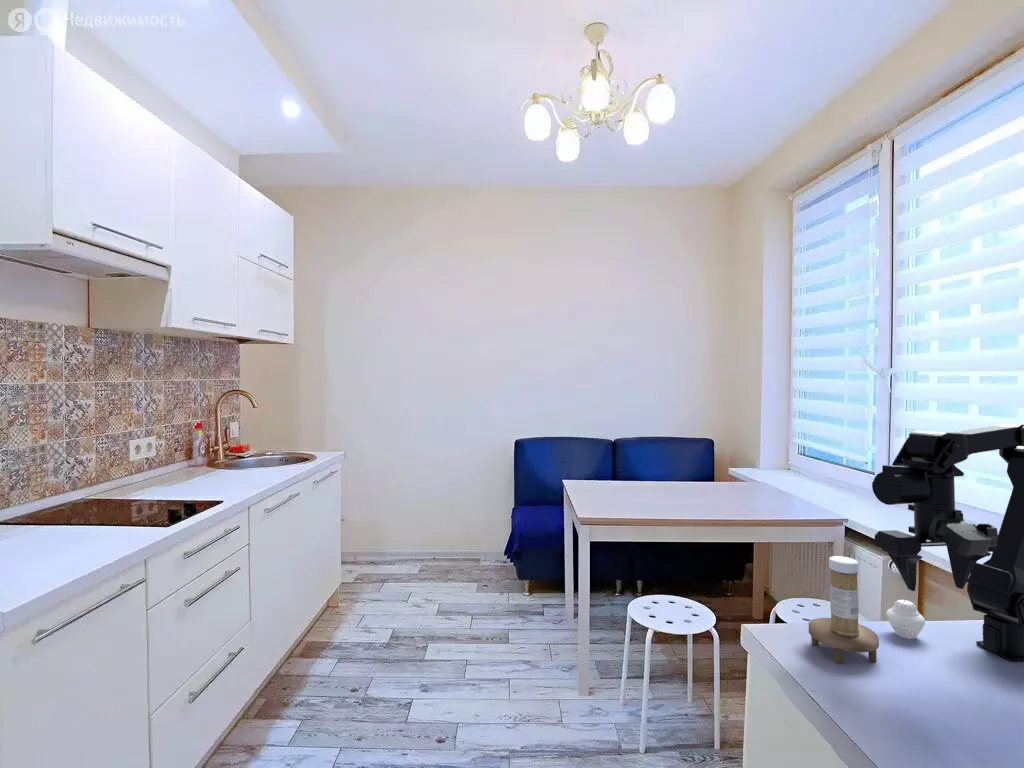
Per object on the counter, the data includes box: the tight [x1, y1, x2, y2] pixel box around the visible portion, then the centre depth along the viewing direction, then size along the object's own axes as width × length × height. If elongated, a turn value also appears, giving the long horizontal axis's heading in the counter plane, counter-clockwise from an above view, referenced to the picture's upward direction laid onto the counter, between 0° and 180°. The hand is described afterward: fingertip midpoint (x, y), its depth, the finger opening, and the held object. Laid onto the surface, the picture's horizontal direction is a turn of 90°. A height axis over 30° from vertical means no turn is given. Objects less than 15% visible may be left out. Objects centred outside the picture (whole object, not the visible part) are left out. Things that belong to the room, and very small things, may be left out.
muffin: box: [886, 599, 926, 640], centre depth 102 cm, size 6×6×7 cm
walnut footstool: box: [808, 617, 880, 665], centre depth 96 cm, size 11×11×4 cm
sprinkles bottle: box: [828, 555, 860, 637], centre depth 96 cm, size 5×5×14 cm
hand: (935, 589), depth 92 cm, fingers open, 9 cm apart
